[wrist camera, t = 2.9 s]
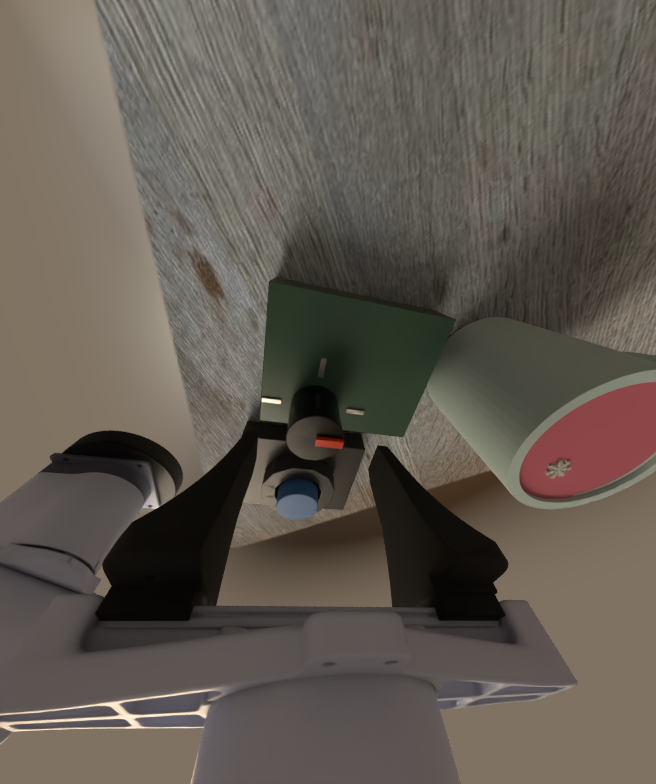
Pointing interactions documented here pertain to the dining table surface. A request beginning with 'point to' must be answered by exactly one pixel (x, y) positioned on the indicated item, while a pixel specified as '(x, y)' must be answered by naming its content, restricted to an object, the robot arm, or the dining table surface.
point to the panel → (349, 354)
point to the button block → (301, 468)
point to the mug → (549, 410)
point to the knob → (314, 424)
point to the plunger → (297, 499)
